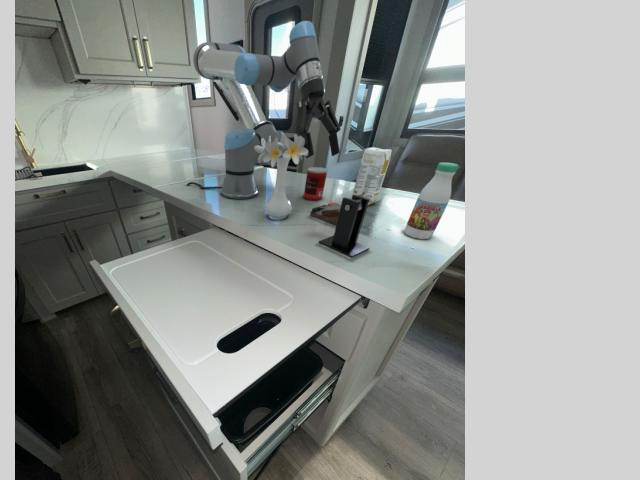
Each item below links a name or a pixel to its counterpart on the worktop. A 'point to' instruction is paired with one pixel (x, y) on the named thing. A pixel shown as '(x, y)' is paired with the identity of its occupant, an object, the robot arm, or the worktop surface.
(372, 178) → the juice carton
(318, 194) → the canned food
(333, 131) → the robot arm
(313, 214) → the control block
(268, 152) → the flower vase
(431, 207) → the milk bottle
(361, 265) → the worktop surface
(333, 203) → the button
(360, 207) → the lever
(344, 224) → the bracket
